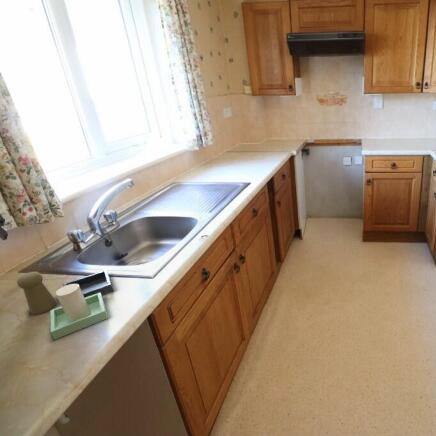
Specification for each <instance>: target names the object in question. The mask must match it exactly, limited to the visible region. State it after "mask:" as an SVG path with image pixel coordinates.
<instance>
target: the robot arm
mask: <svg viewBox="0 0 436 436" xmlns="http://www.w3.org/2000/svg"><path fill="white" fill-rule="evenodd" d="M5 223H6V218H4V217H3V216H2V215H0V239H1V240H2V241H6V240H8V237H9V234H8V232H7V231H6V229H4V228H3V227H5Z"/></svg>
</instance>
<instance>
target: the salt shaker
mask: <svg viewBox="0 0 436 436" xmlns="http://www.w3.org/2000/svg"><path fill="white" fill-rule="evenodd" d="M55 296H56V298H57V300H58V302H59V304H60V307H61V306H62V308H63V310H64V312H65V314H66V316H67V318H68V320H69V322H74V321H76V320H79V319H81V318H84V317H87V316H89V315H90V314H91V311H90V308H89V306H88V304H87V302H86V300H85V297H84V295H83V293H82V291H81V288H80V286H79V285H78V284H69V285H66V286H64V287H63V286H62V287H60V288H59V289H57V290H56V291H55Z"/></svg>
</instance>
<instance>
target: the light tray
mask: <svg viewBox="0 0 436 436" xmlns="http://www.w3.org/2000/svg"><path fill="white" fill-rule="evenodd" d="M85 300H86V302H87V304H88V306H89V308H90V311H91V314H90V315H89V316H87V317H84V318H81V319H79V320H76V321H74V322H69V320H68V318H67V316H66V314H65V312H64V310H63V308H62V306H61V305H60V306H58V307H56V308H52V309H50V310H49V312H50V314H49V315H50V318H49V319H50V334H51V336H52V338H53V340H57V339H59V338H61V337H65V336H67V335H70V334H72V333H75V332H77V331H80V330H82V329H84V328H87V327H89V326H92V325H94V324H98V323H99V322H102V321H104V320H107V319H108V318H109V316H108V313H107V308H106V305H105V301H104V298H103V295H101V293H97V294H94V295H92V296H89V297H86V298H85Z"/></svg>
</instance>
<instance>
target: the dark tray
mask: <svg viewBox="0 0 436 436" xmlns="http://www.w3.org/2000/svg"><path fill="white" fill-rule="evenodd" d="M69 284H78V285H79V286H80V288H81V291H82V293H83V295H84V297H85V298H86V297H89V296H92V295H94V294H97V293H101V295H102V296H104V295H106V294H109V293H112V292H114V291H115V290H114V287H113V284H112V281H111V277H110V275H109V272H108V270H107V269H104V270H102V271H98V272H94V273H92V274H89V275H86V276H83V277H80V278H76V279H73V280H71V281H68V282H67V281H66V282H65V283H62V287H64V286H66V285H69Z"/></svg>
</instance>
